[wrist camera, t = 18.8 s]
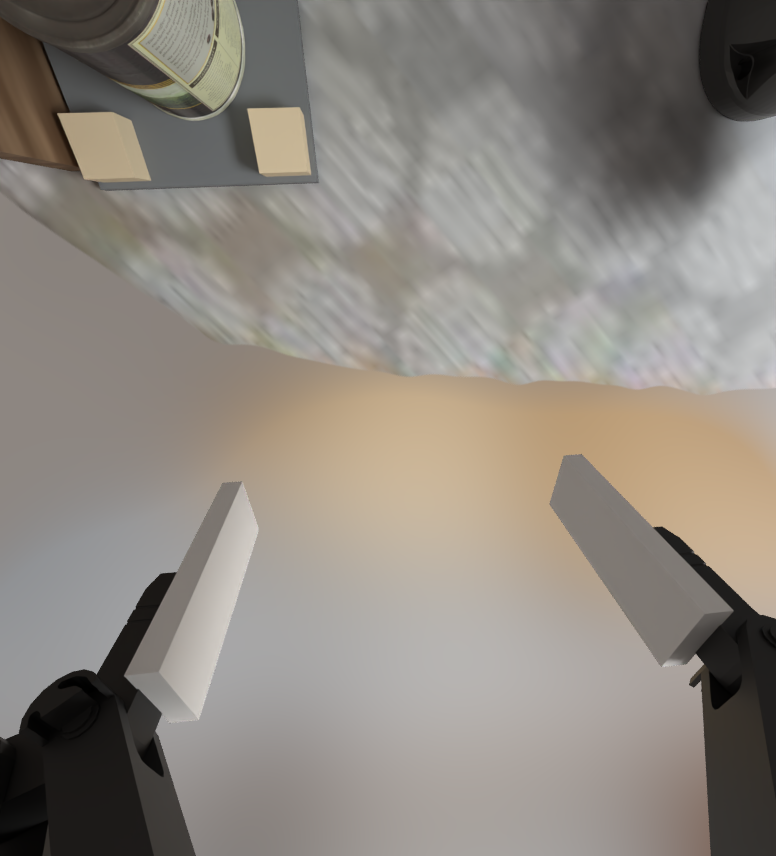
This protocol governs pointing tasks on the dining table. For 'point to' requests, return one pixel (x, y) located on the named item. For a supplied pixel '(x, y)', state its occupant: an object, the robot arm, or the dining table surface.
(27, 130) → the walnut shelf
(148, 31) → the coffee can
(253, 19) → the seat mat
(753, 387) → the dining table surface
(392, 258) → the dining table surface
